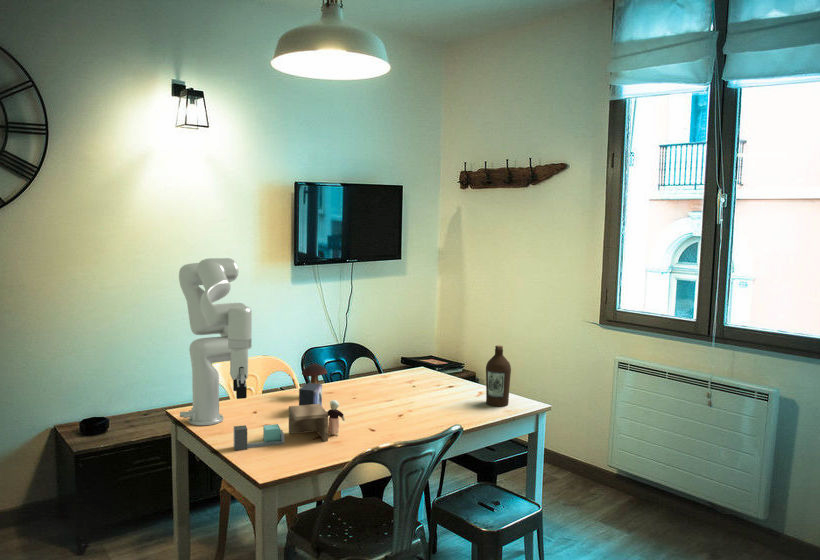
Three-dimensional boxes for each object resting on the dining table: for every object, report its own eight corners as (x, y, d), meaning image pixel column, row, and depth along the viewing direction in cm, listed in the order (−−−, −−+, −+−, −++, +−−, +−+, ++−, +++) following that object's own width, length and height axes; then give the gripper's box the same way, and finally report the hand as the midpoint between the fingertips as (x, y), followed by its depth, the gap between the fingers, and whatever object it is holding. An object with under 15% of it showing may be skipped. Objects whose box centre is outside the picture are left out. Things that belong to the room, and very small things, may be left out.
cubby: (295, 444, 218) (295, 416, 217) (288, 432, 230) (288, 406, 229) (327, 441, 222) (328, 413, 221) (319, 429, 234) (319, 403, 233)
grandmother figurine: (322, 436, 226) (323, 401, 225) (323, 432, 230) (324, 398, 229) (344, 436, 227) (345, 401, 226) (345, 433, 231) (345, 398, 230)
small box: (313, 416, 250) (313, 390, 249) (298, 414, 251) (298, 388, 250) (322, 408, 260) (323, 383, 259) (307, 407, 261) (307, 382, 261)
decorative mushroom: (307, 402, 269) (307, 367, 268) (297, 395, 278) (298, 362, 277) (331, 399, 274) (331, 364, 273) (321, 393, 284) (321, 359, 283)
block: (265, 444, 218) (265, 429, 217) (263, 439, 222) (263, 425, 222) (280, 442, 219) (280, 428, 219) (277, 438, 224) (277, 424, 224)
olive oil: (488, 399, 280) (489, 342, 277) (512, 402, 276) (514, 345, 274) (482, 405, 270) (483, 347, 267) (506, 408, 266) (508, 349, 264)
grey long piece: (234, 450, 211) (234, 430, 210) (232, 444, 217) (232, 424, 216) (285, 445, 216) (285, 425, 216) (281, 439, 222) (281, 419, 222)
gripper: (225, 339, 217) (225, 388, 219) (230, 349, 201) (230, 402, 203) (248, 338, 220) (248, 387, 221) (254, 348, 204) (254, 400, 205)
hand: (239, 394), depth 212 cm, fingers open, 9 cm apart
